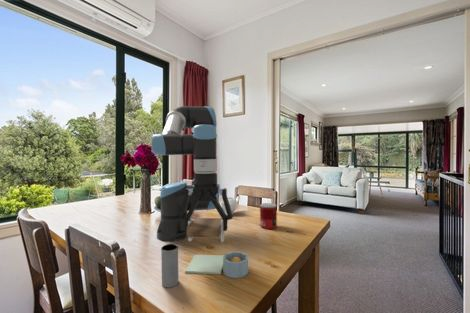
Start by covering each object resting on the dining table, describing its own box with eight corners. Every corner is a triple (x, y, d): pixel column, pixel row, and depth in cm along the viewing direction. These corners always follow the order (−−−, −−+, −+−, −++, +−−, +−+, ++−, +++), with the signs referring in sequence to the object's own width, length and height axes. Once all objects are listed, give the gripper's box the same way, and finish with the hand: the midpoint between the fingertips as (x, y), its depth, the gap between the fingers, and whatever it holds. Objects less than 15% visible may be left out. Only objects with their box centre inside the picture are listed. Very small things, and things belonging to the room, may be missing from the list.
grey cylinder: (158, 286, 61) (157, 249, 61) (168, 277, 65) (168, 242, 65) (172, 289, 59) (171, 251, 59) (181, 280, 64) (181, 244, 63)
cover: (186, 236, 68) (186, 227, 68) (195, 226, 77) (195, 217, 77) (218, 237, 67) (218, 227, 66) (223, 227, 76) (223, 218, 76)
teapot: (213, 216, 128) (213, 200, 128) (233, 209, 144) (233, 195, 144) (226, 219, 123) (225, 202, 122) (245, 211, 139) (245, 196, 139)
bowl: (221, 277, 64) (221, 262, 64) (225, 264, 72) (225, 251, 72) (247, 279, 64) (247, 263, 64) (248, 265, 71) (248, 251, 71)
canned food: (276, 230, 104) (276, 207, 104) (259, 229, 105) (259, 206, 105) (276, 224, 111) (276, 203, 111) (261, 224, 113) (260, 202, 113)
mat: (185, 272, 67) (185, 270, 67) (195, 256, 78) (195, 254, 78) (220, 274, 66) (220, 272, 66) (225, 257, 77) (225, 255, 77)
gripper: (167, 173, 69) (168, 243, 69) (238, 173, 67) (239, 245, 67) (176, 171, 77) (177, 235, 77) (240, 171, 75) (241, 236, 75)
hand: (206, 240), depth 72 cm, fingers closed on cover, 10 cm apart
